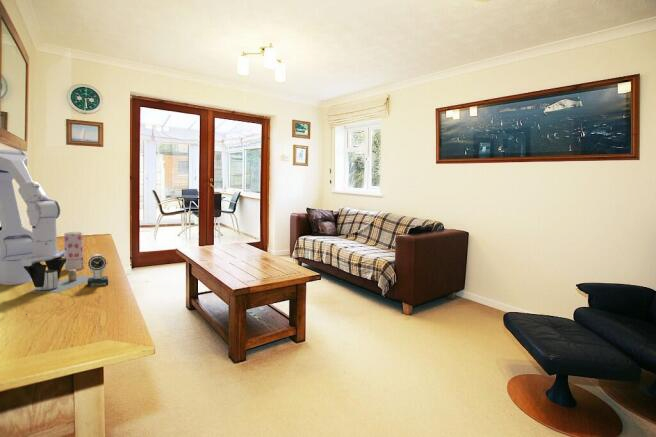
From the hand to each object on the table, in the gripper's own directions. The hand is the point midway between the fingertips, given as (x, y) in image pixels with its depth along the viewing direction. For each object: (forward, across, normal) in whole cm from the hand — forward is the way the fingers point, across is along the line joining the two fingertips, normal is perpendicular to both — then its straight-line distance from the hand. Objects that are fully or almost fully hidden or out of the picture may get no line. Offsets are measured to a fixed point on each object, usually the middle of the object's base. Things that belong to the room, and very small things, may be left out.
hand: (46, 284), depth 110 cm
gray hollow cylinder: (+1, 0, 0) cm, 1 cm away
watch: (+3, +6, -12) cm, 14 cm away
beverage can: (+3, +26, +10) cm, 28 cm away
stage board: (+3, +6, -2) cm, 7 cm away
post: (+1, +10, -1) cm, 10 cm away
